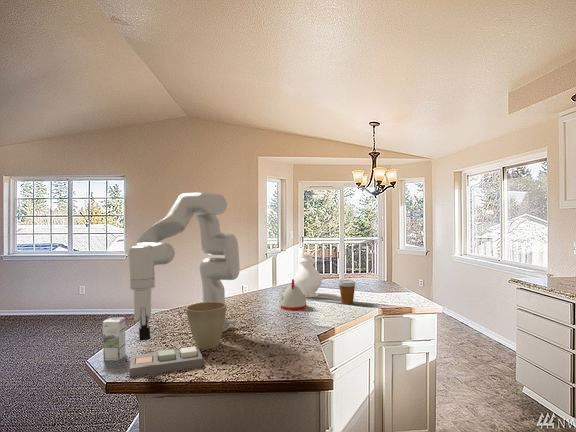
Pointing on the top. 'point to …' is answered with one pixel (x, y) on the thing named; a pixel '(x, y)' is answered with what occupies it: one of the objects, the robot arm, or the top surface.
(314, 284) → the decorative vase
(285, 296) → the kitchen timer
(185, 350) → the cream button
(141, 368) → the button panel
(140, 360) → the terracotta button
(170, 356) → the sage button
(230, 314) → the top surface
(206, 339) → the plant pot
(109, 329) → the syrup box
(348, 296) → the disposable coffee cup
